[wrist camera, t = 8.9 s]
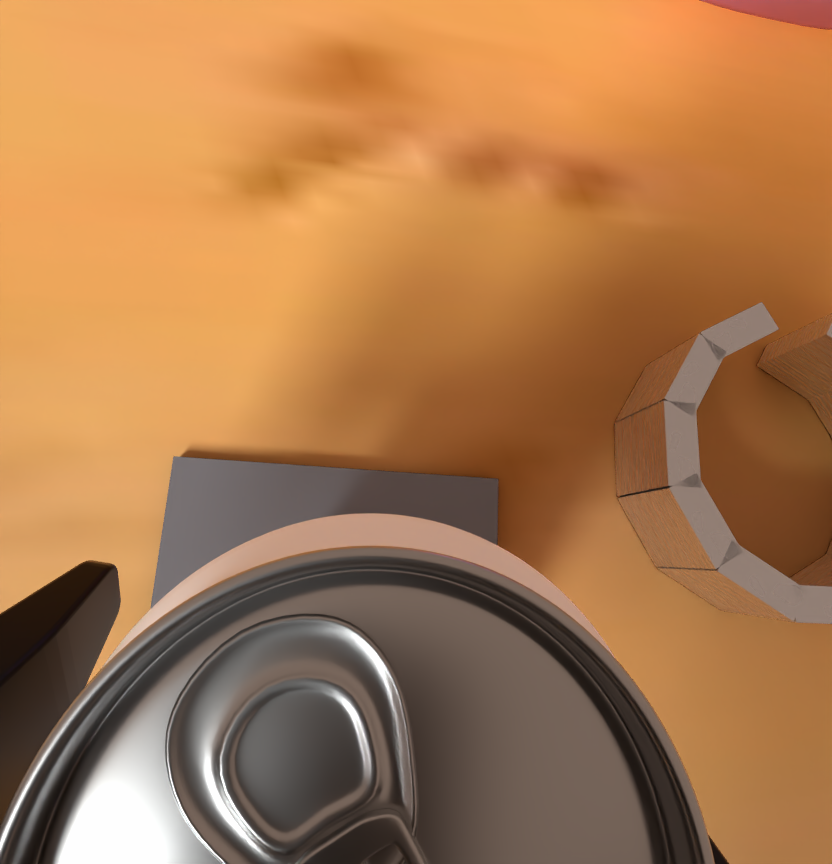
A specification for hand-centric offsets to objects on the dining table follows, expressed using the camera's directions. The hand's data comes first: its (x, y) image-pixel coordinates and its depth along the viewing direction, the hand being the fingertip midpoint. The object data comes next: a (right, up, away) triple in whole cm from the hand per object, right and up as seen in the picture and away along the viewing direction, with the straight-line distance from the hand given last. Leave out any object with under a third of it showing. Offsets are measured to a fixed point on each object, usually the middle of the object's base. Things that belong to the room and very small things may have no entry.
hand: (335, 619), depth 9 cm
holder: (+13, +2, +11) cm, 17 cm away
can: (0, -3, +7) cm, 8 cm away
